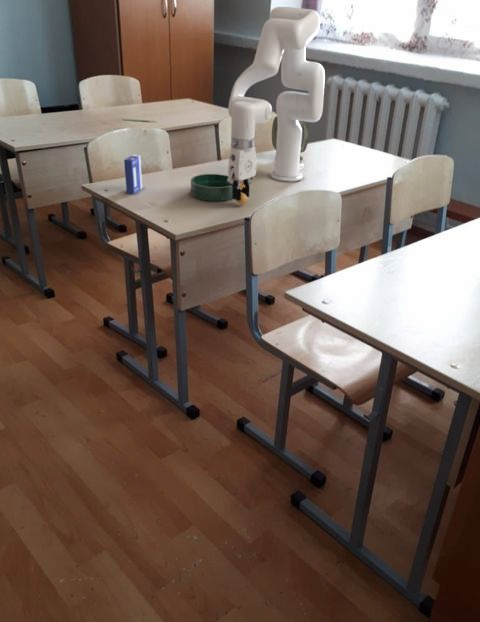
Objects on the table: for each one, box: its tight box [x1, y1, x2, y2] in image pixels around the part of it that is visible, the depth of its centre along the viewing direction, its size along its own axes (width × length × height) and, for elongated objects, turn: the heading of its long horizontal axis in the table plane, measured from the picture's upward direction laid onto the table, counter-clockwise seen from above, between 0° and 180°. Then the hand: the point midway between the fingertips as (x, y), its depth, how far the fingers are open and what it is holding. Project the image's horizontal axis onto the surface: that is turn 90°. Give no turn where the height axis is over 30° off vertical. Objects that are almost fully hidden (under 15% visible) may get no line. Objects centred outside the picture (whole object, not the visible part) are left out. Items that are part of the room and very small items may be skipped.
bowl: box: [190, 173, 233, 202], centre depth 212 cm, size 16×16×5 cm
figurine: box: [234, 176, 248, 206], centre depth 201 cm, size 8×6×12 cm
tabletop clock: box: [271, 115, 310, 161], centre depth 253 cm, size 14×9×25 cm, turn 102°
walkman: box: [123, 154, 143, 195], centre depth 209 cm, size 8×3×12 cm, turn 167°
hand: (240, 197), depth 203 cm, fingers closed on figurine, 4 cm apart
